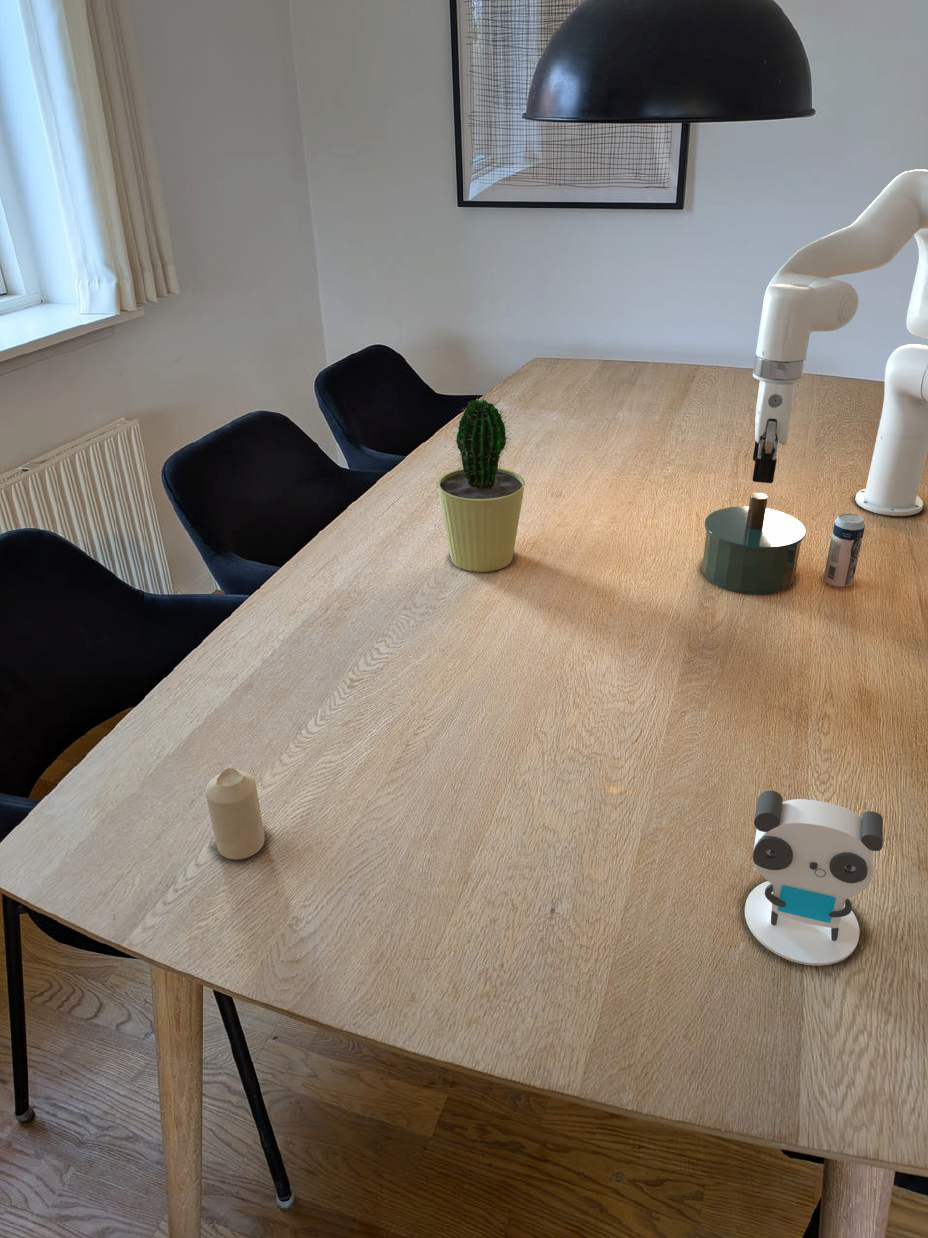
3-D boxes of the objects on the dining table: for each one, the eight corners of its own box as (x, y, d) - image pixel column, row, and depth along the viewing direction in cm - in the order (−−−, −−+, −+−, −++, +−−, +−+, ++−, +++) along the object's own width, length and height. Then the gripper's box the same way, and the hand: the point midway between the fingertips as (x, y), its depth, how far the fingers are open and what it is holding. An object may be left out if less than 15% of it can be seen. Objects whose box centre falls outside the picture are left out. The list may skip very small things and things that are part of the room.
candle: (220, 828, 112) (207, 762, 107) (267, 825, 112) (256, 759, 107) (213, 862, 107) (199, 794, 102) (262, 858, 107) (250, 791, 102)
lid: (706, 508, 170) (710, 473, 167) (802, 517, 166) (808, 481, 163) (701, 548, 156) (706, 510, 153) (806, 558, 152) (813, 520, 149)
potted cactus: (422, 559, 172) (414, 398, 157) (478, 532, 181) (476, 378, 166) (484, 586, 163) (483, 418, 147) (540, 555, 172) (545, 395, 157)
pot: (704, 549, 173) (709, 506, 169) (792, 558, 170) (800, 514, 166) (699, 588, 161) (705, 543, 156) (795, 598, 157) (803, 553, 153)
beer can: (854, 589, 159) (868, 525, 153) (824, 587, 160) (837, 523, 154) (850, 576, 163) (863, 513, 157) (821, 574, 164) (833, 511, 158)
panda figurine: (731, 945, 96) (751, 835, 88) (744, 868, 105) (764, 762, 97) (857, 979, 92) (889, 867, 84) (859, 896, 101) (889, 788, 93)
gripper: (806, 384, 139) (787, 492, 147) (801, 355, 153) (784, 455, 162) (753, 381, 141) (737, 488, 149) (754, 352, 155) (739, 451, 164)
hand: (762, 471), depth 155 cm, fingers open, 9 cm apart
